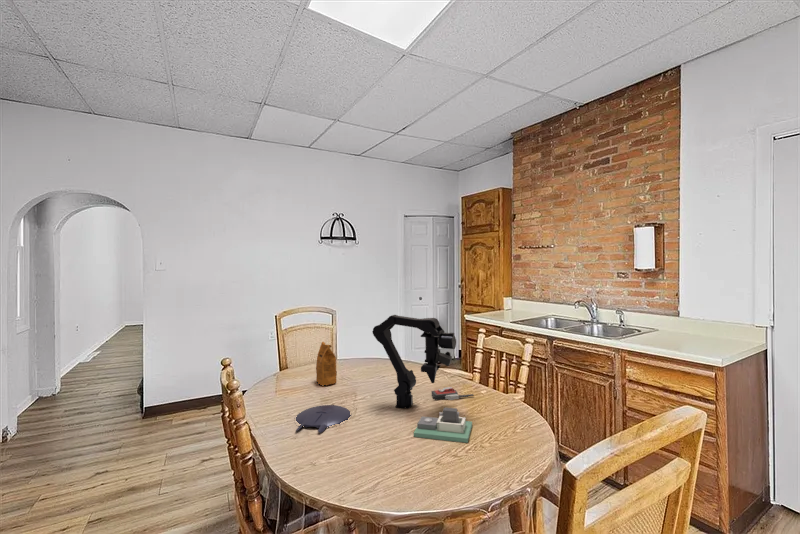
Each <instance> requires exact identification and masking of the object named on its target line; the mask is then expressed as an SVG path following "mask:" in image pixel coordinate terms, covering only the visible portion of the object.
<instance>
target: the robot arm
mask: <svg viewBox="0 0 800 534" xmlns="http://www.w3.org/2000/svg"><path fill="white" fill-rule="evenodd" d="M395 325H397V326H403V327H409V328H410V327H411V328H415V329H418V330H420V331H421V332H422V334H421V335H420V337H421V338H424V341H425V344H424V345H425V349H424V354H425V359H424V363H423V364H422V365H421V367H420V372H421V373H426V374H427V376H428V379H429V380H430V382H431V383H432V384H435V383H436V381H435V380H436V377H437V372H438V370H439V369H440V368H441V365H440V364H443V365H445V366H447V367H450V365H451V362H452V359H453V356H452V355H451V352H450V351H446V352H441V349H449V350H455V349H456V346H457V339H456V336H455V333H454V332H445V330H444V328H443V327H442V326H441V325H440V322H439V320H438V318H436V317H426V318H417V317H410V316H405V315H397V314H392V315H390V316H389V317H387V318H386V319H385V320H384V321H382V322H380V324H378V325H375V326H374V327H373V328H372V335H373V336H374V338H375V339H376V341H377V342H378V343H380V344H381V345H382V347H383V348H384V350H385V352H386V355H387V357H388V359H389V360H390V363H391V364H392V367H393V368H394V371H395V373H396V381H397V384H398V385H397V386H396V388H394V389H393V392H394V395H396V405H395V408H398V409H406V410H407V409H408V410H409V409H410V408H411V407H412V406H413V404H414V403H413V401H414V400H413V394H412V390H413V388H414V387H415V386H416V384H417V376H415V373H414V371H413V370H412V369H410V370H409V369H407V367H406V365H405V363H404V361H403V360H402V357H401V356H400V353H399V352H398V350H397V348H396V346H395V344H394V341H393V340H392V339H393V338H392V332H391V330H392V329H393V328H394V326H395ZM440 348H441V349H440ZM439 363H440V364H439ZM438 364H439V365H438Z"/></svg>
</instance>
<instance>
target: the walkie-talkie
mask: <svg viewBox="0 0 800 534" xmlns="http://www.w3.org/2000/svg"><path fill="white" fill-rule="evenodd" d="M474 396H475V395H474V393H472V394H471V393H470V394H459V392H458V391H457V390H456V389H455V388H453V387H452V386H449V387H443V388H442V389H440V388H438V389H436V390H431V398H432V400H434V401H441V400H440V399H442V400H446V399H448V400H447V401H455V400H454V399H461V398H468V397H474Z"/></svg>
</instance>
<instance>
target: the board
mask: <svg viewBox="0 0 800 534" xmlns="http://www.w3.org/2000/svg"><path fill="white" fill-rule="evenodd" d="M466 418H467V417H462V416H459V423H449V422H443V416H441V415H439V417H434V416H433V417H431V416H421V417H420V419H419V421H418V422H417V424H416V425H417V426H416V428H415V430H414V432H413V437H414V438H421V439H423V438H424V439H429V440H430V439H431V440H440V441H446V442H447V441H448V442H457V443H465V444H468V443H469V439H470V436H471V432H472V428H473V420H472V421H469V420H466Z"/></svg>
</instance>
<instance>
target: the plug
mask: <svg viewBox="0 0 800 534" xmlns="http://www.w3.org/2000/svg"><path fill="white" fill-rule="evenodd" d="M438 413H439V416H440V415H441V416H443V422H449V423H459V417H460V412H459V411H458V408H456V407H455V408H453V407H443V409H442V412H441V411H439V412H438Z"/></svg>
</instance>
